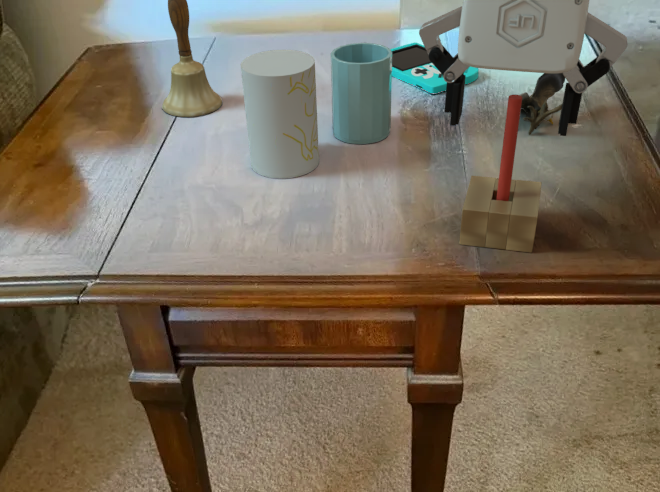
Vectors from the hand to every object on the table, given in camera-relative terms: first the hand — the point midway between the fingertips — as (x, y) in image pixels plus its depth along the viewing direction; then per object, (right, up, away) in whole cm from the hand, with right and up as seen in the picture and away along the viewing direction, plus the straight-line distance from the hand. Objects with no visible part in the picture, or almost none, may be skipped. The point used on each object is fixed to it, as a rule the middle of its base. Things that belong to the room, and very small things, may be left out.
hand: (508, 124), depth 70 cm
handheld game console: (-2, +19, +42) cm, 46 cm away
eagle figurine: (+10, +7, +27) cm, 30 cm away
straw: (+1, -9, +7) cm, 11 cm away
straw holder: (+1, -9, +7) cm, 11 cm away
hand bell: (-35, +12, +36) cm, 51 cm away
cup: (-21, +1, +21) cm, 30 cm away
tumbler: (-12, +6, +27) cm, 30 cm away
